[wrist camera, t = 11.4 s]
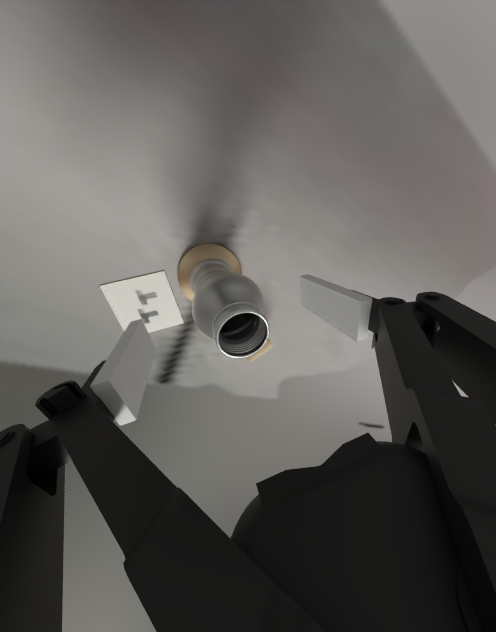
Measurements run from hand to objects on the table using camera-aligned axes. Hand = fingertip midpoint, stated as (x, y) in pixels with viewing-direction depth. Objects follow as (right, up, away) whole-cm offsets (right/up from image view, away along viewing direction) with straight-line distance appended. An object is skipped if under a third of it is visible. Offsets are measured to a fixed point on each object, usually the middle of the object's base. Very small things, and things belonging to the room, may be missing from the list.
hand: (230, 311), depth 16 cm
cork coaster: (-4, +6, +15) cm, 17 cm away
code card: (-15, +1, +14) cm, 20 cm away
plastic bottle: (-4, +6, +15) cm, 17 cm away
